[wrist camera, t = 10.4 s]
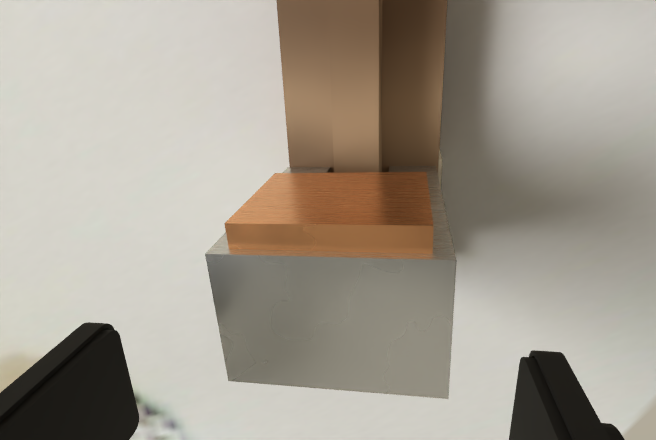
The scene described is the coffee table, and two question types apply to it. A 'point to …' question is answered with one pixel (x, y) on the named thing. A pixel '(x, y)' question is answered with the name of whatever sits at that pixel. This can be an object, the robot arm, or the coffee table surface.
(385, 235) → the white and wooden block
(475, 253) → the coffee table surface
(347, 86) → the rail
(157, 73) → the coffee table surface
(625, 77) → the coffee table surface
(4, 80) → the coffee table surface
